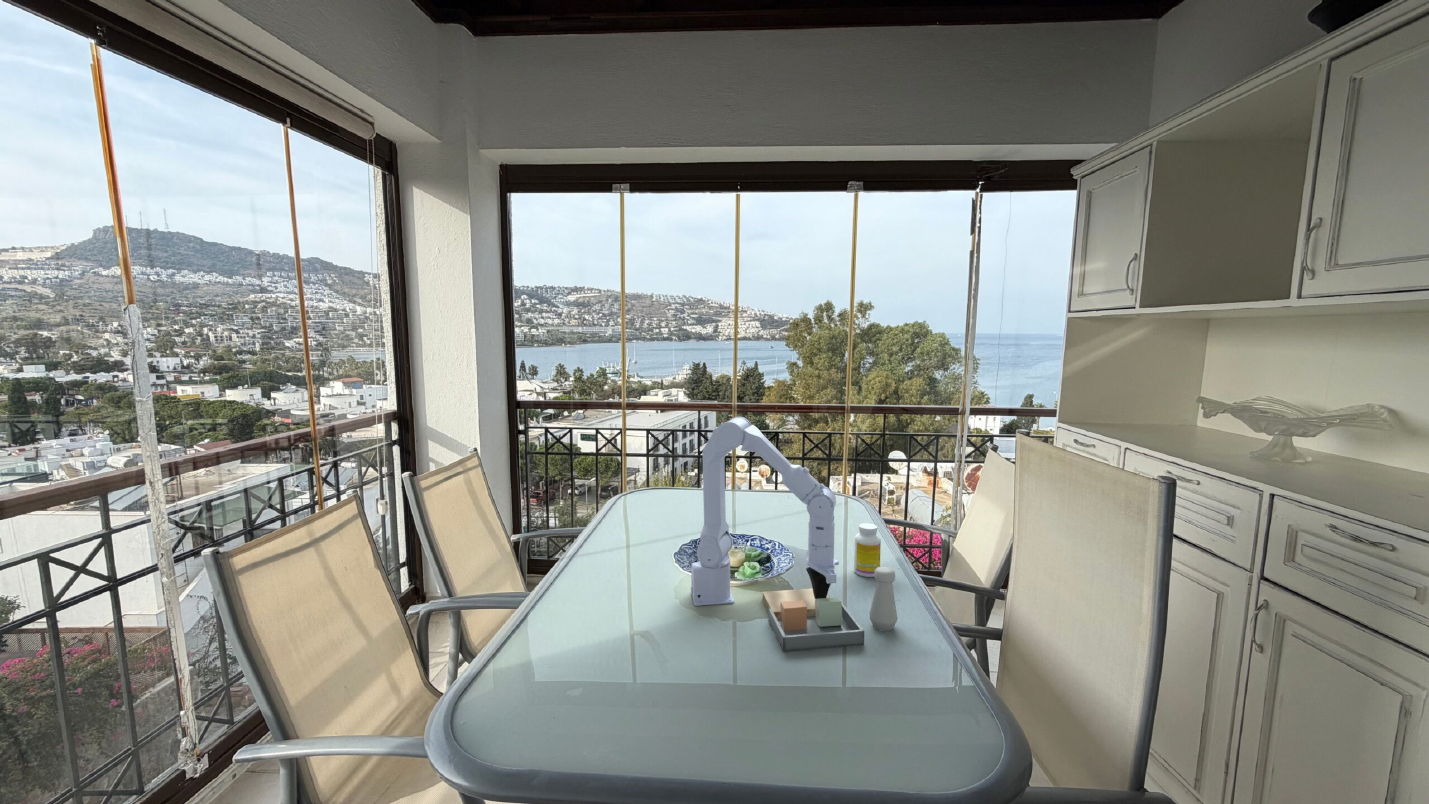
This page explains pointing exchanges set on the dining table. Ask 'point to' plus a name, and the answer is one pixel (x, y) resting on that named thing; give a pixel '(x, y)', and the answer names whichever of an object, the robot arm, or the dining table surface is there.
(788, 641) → the tray
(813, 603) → the board
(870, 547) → the supplement bottle
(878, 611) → the salt shaker
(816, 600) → the tile sage
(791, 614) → the tile terracotta
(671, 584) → the dining table surface
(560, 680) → the dining table surface
